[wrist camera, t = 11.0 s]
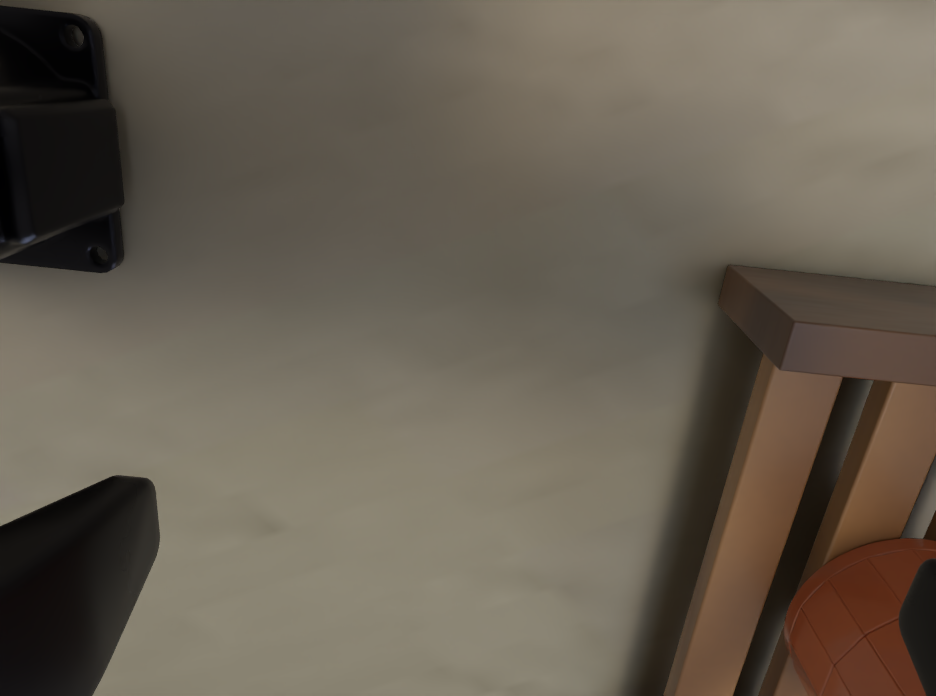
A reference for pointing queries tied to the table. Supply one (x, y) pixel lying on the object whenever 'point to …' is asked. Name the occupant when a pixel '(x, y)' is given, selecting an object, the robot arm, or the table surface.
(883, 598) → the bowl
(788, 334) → the rack
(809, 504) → the table surface
